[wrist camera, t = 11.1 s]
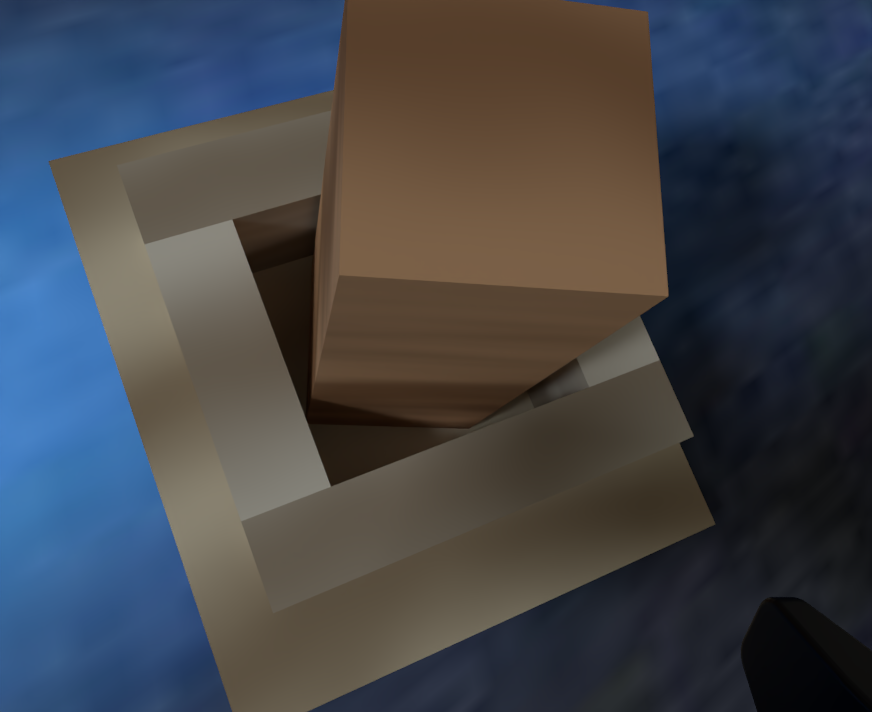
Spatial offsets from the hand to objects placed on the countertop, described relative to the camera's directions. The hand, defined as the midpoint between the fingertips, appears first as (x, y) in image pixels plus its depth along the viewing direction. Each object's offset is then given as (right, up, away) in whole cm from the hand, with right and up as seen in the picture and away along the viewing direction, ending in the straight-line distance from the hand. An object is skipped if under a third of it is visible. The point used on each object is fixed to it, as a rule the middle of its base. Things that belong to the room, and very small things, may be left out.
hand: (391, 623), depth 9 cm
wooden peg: (-1, +3, +14) cm, 14 cm away
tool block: (-1, +3, +15) cm, 15 cm away
